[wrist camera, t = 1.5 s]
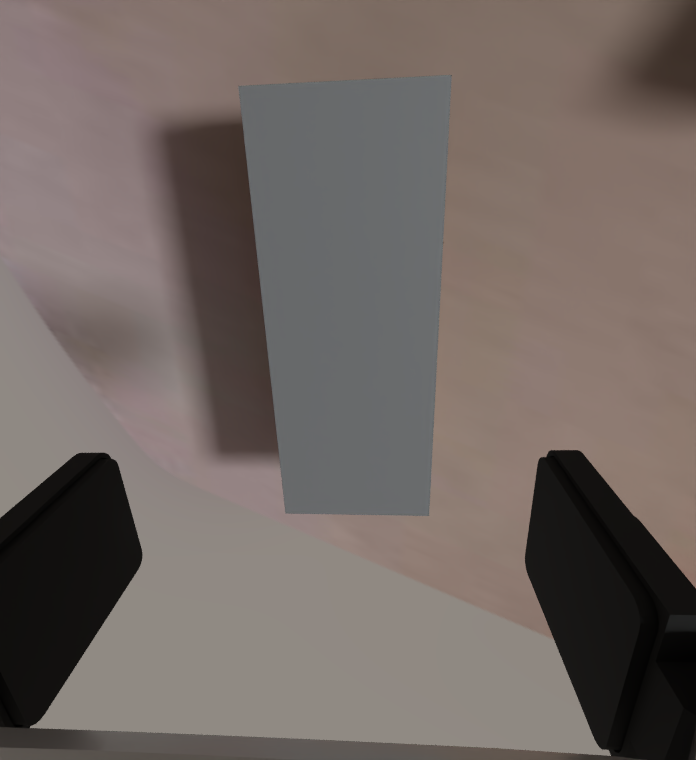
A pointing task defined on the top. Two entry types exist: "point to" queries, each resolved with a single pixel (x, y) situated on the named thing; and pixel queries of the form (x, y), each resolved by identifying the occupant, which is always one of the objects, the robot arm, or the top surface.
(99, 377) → the top surface
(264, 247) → the lid
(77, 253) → the top surface
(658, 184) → the top surface
